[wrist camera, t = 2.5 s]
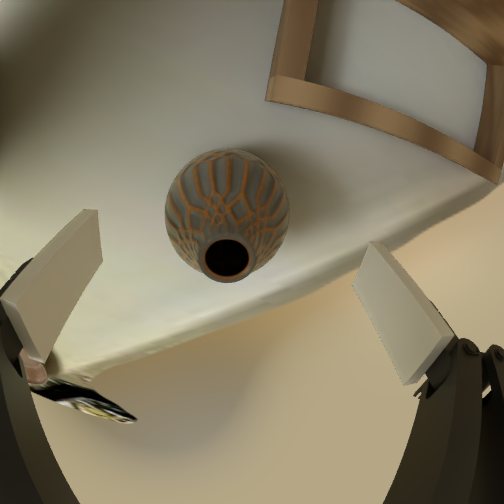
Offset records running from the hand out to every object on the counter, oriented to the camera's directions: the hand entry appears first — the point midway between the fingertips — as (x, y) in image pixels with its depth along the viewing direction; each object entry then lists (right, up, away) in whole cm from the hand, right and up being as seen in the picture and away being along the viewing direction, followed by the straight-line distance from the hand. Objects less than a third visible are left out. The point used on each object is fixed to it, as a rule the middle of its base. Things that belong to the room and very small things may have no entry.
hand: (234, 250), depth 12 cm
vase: (-1, +4, +6) cm, 8 cm away
